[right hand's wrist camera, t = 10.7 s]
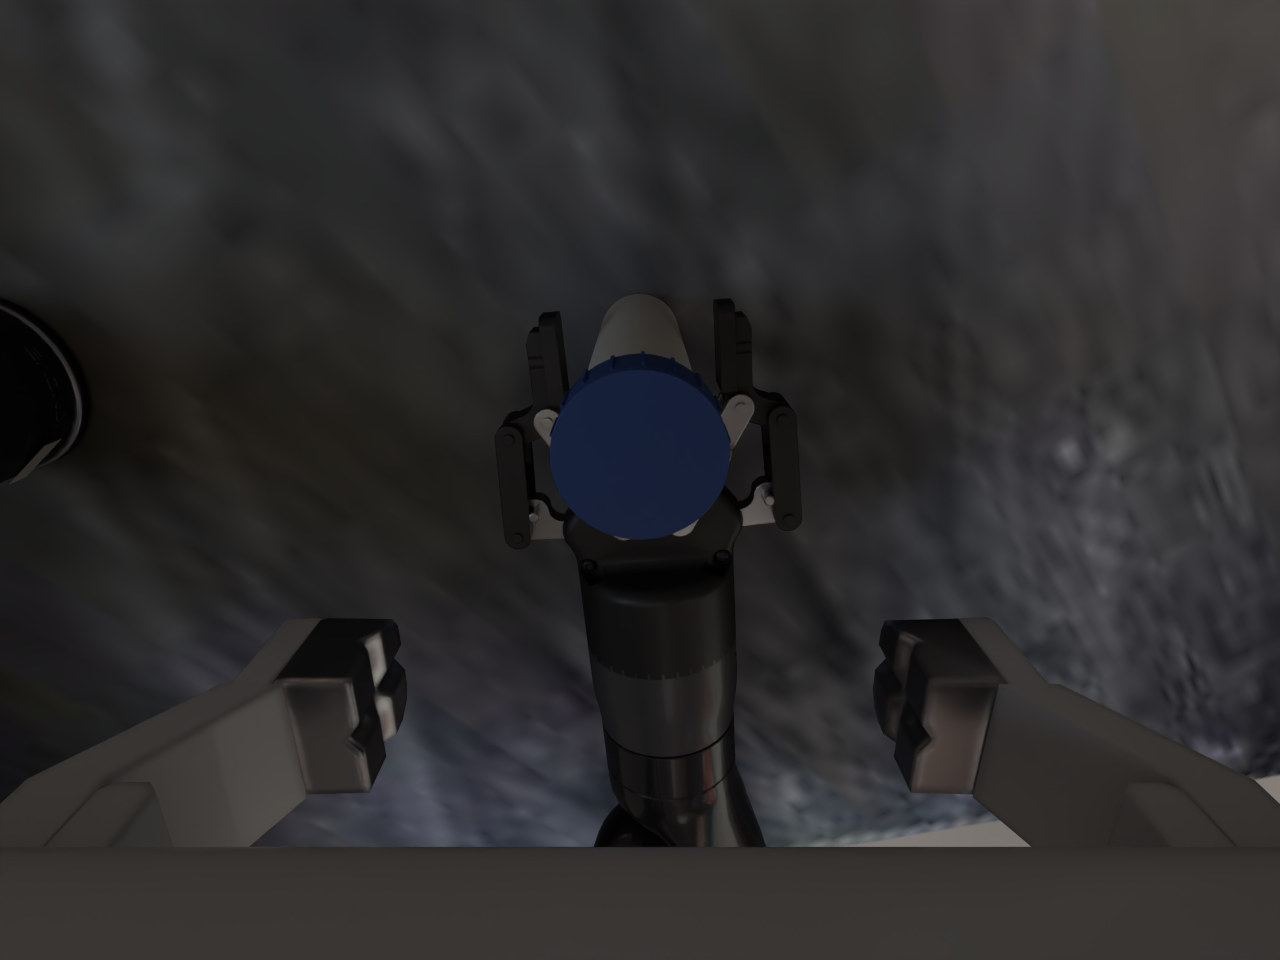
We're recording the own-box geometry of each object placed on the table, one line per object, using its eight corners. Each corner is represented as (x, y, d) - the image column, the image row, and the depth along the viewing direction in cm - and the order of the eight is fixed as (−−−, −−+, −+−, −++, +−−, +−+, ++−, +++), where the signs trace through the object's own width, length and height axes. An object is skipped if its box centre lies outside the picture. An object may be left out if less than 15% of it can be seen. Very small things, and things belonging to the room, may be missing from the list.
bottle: (646, 277, 36) (653, 349, 18) (693, 340, 37) (743, 465, 19) (585, 326, 37) (534, 441, 19) (633, 386, 38) (627, 546, 20)
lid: (654, 314, 20) (656, 326, 18) (756, 448, 21) (768, 474, 19) (521, 419, 21) (508, 442, 19) (626, 540, 22) (625, 573, 20)
